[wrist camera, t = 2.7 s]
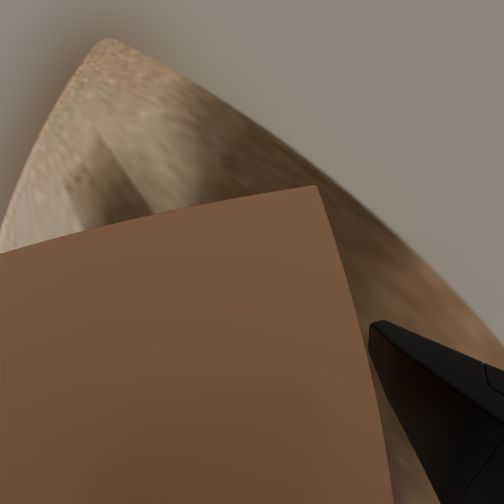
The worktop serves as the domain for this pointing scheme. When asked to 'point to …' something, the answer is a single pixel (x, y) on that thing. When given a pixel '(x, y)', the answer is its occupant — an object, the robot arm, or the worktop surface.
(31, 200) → the worktop surface
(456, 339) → the worktop surface
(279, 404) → the tan rectangular prism
